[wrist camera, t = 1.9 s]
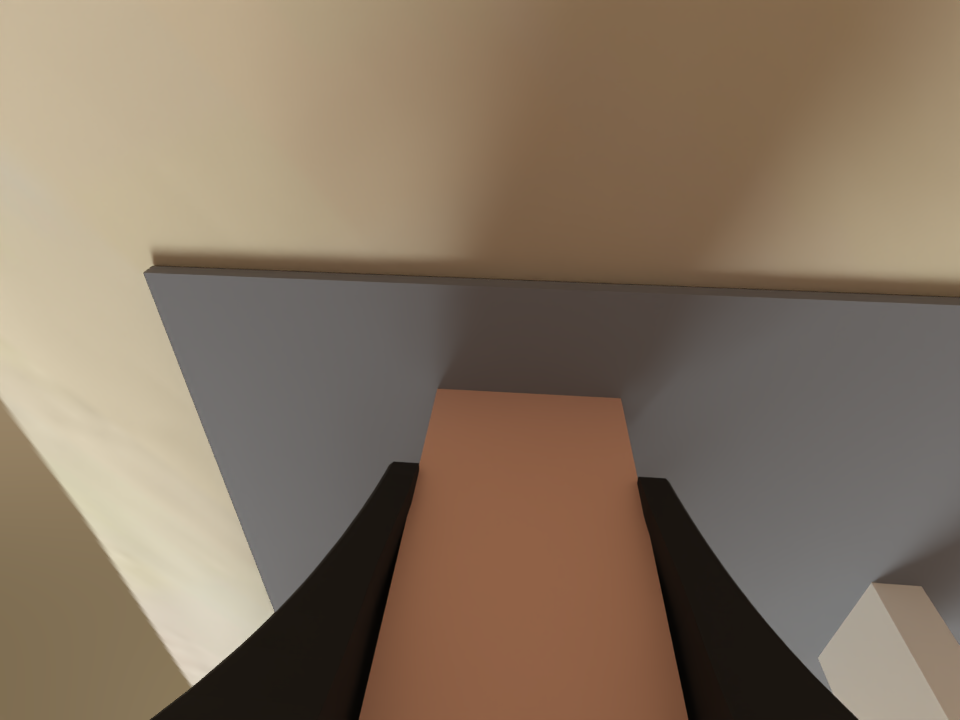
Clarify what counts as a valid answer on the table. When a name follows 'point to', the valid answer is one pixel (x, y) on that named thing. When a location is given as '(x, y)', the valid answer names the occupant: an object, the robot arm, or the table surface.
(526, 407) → the domino
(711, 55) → the table surface
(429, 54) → the table surface
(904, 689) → the domino
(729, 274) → the table surface
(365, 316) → the slate mat
